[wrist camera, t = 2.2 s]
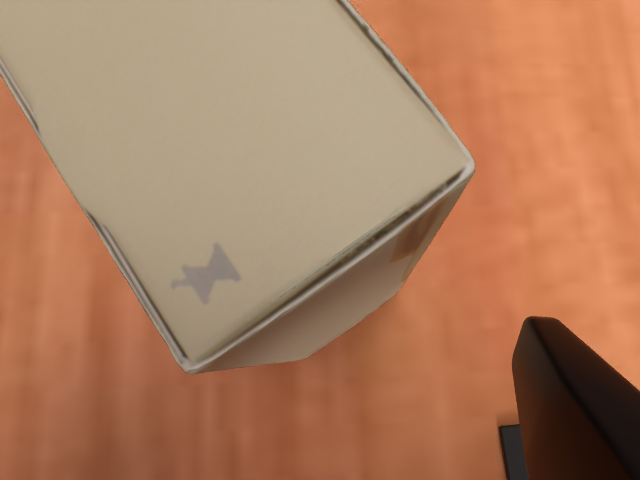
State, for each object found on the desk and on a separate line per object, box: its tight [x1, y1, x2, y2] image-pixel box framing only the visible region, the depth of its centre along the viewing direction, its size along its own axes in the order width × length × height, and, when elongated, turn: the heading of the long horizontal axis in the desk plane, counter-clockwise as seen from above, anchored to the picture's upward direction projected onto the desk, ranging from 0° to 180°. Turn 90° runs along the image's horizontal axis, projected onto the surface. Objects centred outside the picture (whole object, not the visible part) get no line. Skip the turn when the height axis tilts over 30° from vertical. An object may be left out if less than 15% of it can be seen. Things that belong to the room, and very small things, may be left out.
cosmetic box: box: [0, 0, 475, 374], centre depth 12 cm, size 6×4×12 cm
